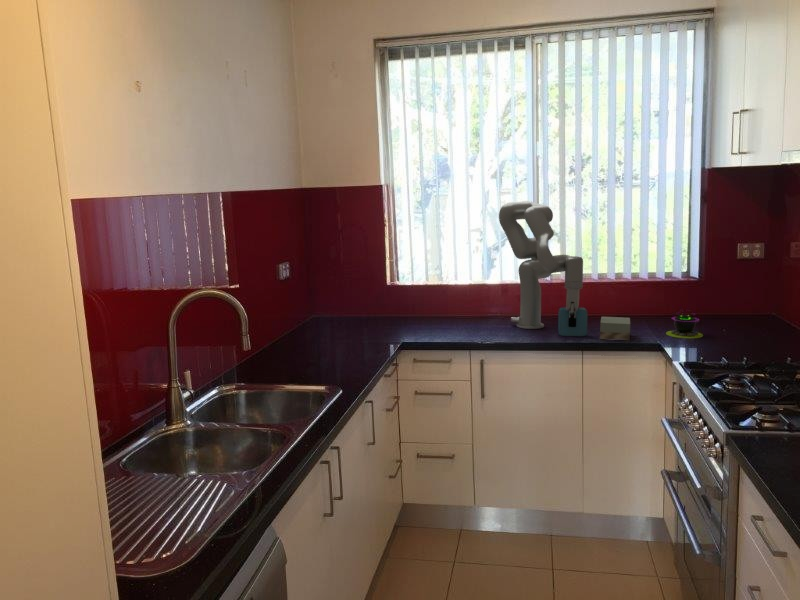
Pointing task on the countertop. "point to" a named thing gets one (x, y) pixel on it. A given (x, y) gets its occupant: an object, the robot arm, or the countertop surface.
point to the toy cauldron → (684, 327)
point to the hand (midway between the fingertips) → (572, 325)
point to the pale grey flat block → (615, 324)
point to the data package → (580, 323)
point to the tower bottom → (614, 335)
